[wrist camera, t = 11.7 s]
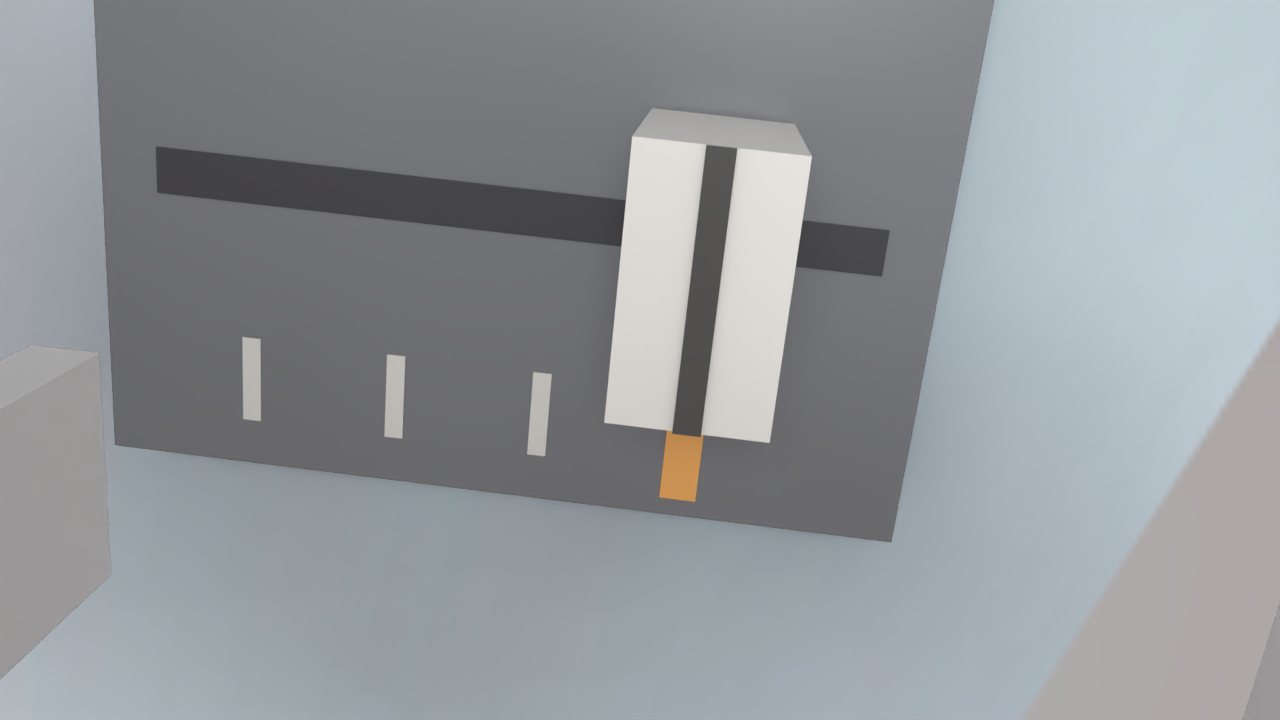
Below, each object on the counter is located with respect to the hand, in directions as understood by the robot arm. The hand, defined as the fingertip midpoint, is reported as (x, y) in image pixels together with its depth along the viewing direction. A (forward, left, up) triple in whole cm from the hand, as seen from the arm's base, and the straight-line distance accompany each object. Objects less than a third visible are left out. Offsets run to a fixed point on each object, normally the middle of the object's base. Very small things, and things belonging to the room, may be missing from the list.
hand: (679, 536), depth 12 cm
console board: (-5, 0, -20) cm, 21 cm away
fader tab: (0, 0, -17) cm, 17 cm away
